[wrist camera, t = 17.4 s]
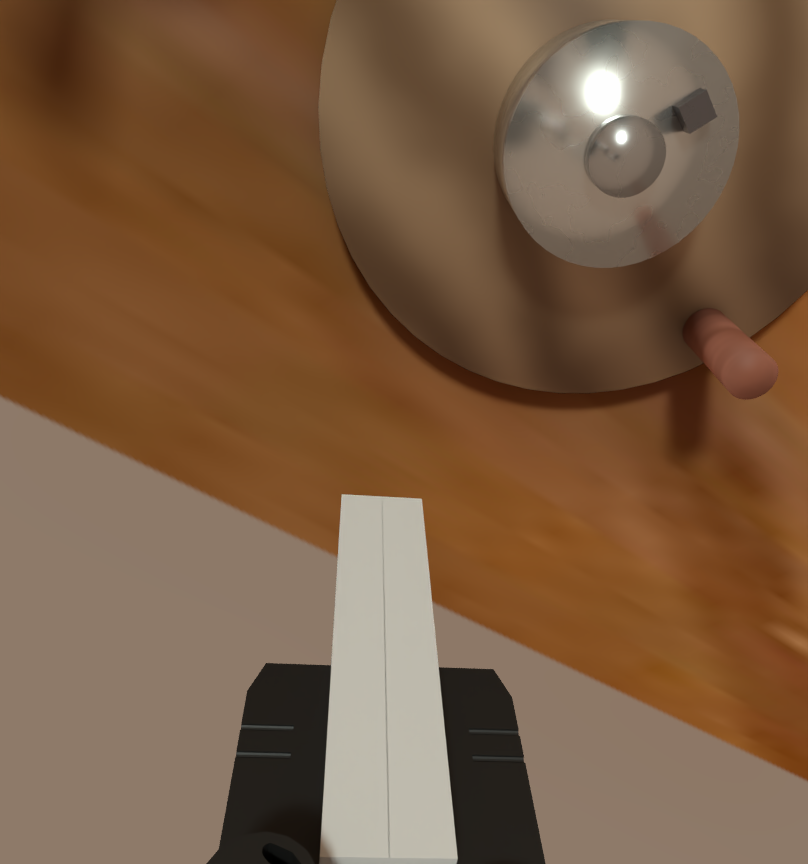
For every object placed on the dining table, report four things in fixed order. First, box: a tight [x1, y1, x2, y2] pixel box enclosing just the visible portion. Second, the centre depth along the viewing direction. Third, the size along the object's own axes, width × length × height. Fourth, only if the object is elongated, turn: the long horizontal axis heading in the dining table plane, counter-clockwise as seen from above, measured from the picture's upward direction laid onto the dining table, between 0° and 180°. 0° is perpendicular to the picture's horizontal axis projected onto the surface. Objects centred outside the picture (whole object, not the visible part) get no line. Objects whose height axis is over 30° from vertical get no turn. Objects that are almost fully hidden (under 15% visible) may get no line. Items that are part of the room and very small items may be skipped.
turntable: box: [318, 0, 808, 399], centre depth 32 cm, size 28×28×7 cm
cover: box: [493, 20, 739, 268], centre depth 32 cm, size 10×10×5 cm
